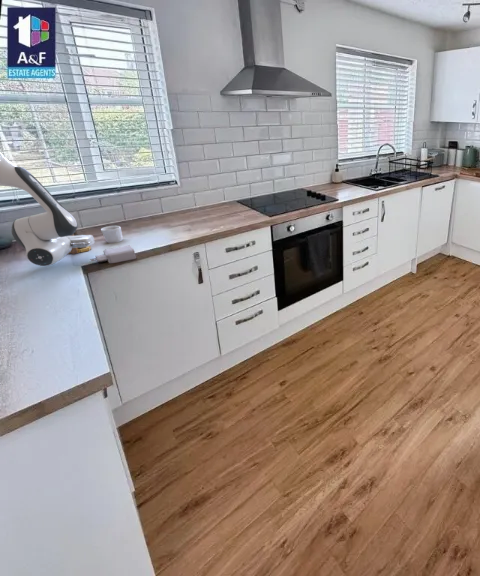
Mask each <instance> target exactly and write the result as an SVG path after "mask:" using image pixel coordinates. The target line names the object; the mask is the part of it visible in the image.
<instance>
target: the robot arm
mask: <svg viewBox="0 0 480 576" xmlns="http://www.w3.org/2000/svg"><path fill="white" fill-rule="evenodd" d="M0 187H11V188H16V189H20V190H23V191H25V192H27V194H29V195H30V196H31V197H32V198H33V199H34V200H35V201H36V202H37V203H38V204H39V206H41V208H43V209H44V210H45V212H41V213H37V214H33V215H28V216H24V217H21V218H17V219H15V220H13V222H12V224H11V235H12V238H14V240H15V241H16V243H17V244H18V245H19V246H20V247H22V248H23V249H24V250H25V256H26V258H27V260H28V261H29V262H30V263H32V264H34V265H36V266H40V267H47V266H48V267H49V266H52V265H54V264H56V263H58V262H59V261H60V260H62V259H63V258H64V257H66V256H67V254H68V253H69V252H70V251H71V250H72V248H81V247H88V246H91V247H92V245H94V244H95V243H96V241H95V238H94V235H92V234H79V235H78V236H71V235H73V234H74V233H75V231H77V230H78V227H79V224H78V221H77V219H76V217H75V216H74V215H73V214H72V213H71V212H70V211H69V210H68V209H66V208H65V207H64V206H63V205H62V204H61V203H60V202H59V201H58V200H57V199H56V198H55V197H54V196H53V195H52V194H51V192H50V191H48V189H47V188H46V187H45V186H44V185H43V184H42V183H41V182H40V181H39V180H38V179H37V178H36V177H35V176H34V175H33V174H32V173H31V172H30V171H28V170H27V169H26V168H25V167H21V166H18V165H15V164H14V163H13V162H11V161H10V160H9V159H7V158H6V156H4V155H3V153H2V152H0ZM68 255H69V254H68Z"/></svg>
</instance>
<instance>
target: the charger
mask: <svg viewBox="0 0 480 576" xmlns="http://www.w3.org/2000/svg"><path fill="white" fill-rule="evenodd" d="M102 252H103V253H102V254H98V255H95V257H94V258H90V259H89V260H90V262H95V261H97V263H103V262H107V263H108V264H115V263H122V262H126V261H131V260H136V259H137V256H136V251H135V250H134V248H133V247H132V245H130V244H127V245H121V246H117V247H110V248H105V249H104V250H103V251H102Z"/></svg>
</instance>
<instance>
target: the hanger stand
mask: <svg viewBox="0 0 480 576" xmlns="http://www.w3.org/2000/svg"><path fill="white" fill-rule="evenodd" d="M77 231H78V230H76V231H75V233H74V236H78V232H77ZM78 249H83V248H78ZM87 252H88V253H89V252H90V250H88V251H85V252H84V253H87ZM81 253H83V252H80V253H79V254H81ZM67 255H73V254H72V253H68V254H67ZM67 255H66V256H67Z"/></svg>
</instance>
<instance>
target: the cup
mask: <svg viewBox="0 0 480 576" xmlns="http://www.w3.org/2000/svg"><path fill="white" fill-rule="evenodd" d="M100 231H101V234H102V236H103V238H104V241H105V243H109V244H110V243H111V244H113V243H118V242H121V241H123V240H124V237H123V232H122V227H121V226H120V225H109V226H108V225H107V226H104V227H101V228H100Z"/></svg>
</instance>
